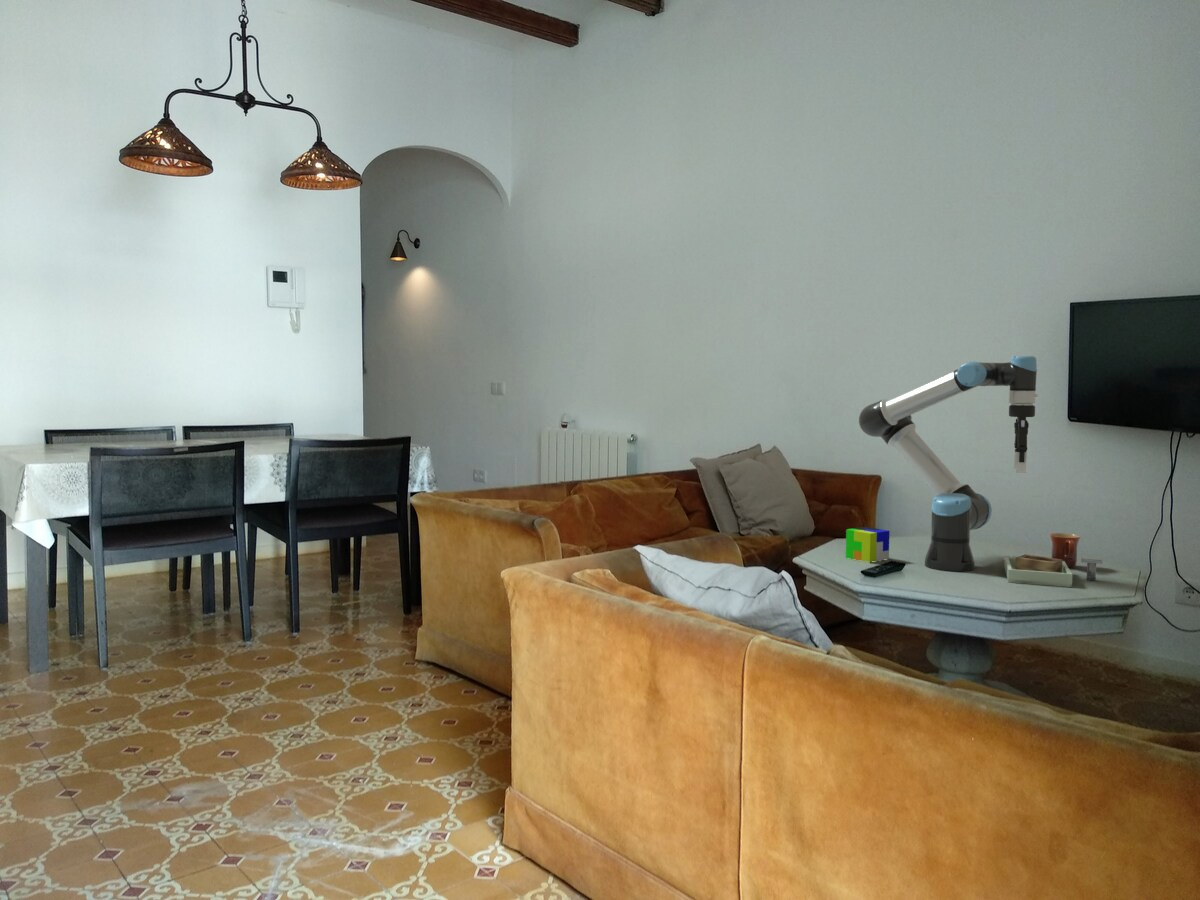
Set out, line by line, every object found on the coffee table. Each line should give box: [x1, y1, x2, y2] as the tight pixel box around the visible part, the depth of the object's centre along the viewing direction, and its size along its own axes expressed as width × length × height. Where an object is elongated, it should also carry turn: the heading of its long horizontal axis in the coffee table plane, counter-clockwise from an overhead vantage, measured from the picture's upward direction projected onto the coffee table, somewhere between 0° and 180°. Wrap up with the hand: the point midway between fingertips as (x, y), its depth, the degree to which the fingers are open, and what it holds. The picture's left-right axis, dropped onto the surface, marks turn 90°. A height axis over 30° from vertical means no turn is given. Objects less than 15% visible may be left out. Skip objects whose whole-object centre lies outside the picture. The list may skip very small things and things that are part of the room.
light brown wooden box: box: [1015, 554, 1062, 573], centre depth 267 cm, size 11×8×5 cm
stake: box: [1080, 557, 1103, 582], centre depth 263 cm, size 5×2×7 cm, turn 68°
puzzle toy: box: [845, 526, 890, 562], centre depth 295 cm, size 10×10×10 cm
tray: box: [1004, 556, 1073, 588], centre depth 267 cm, size 17×20×4 cm
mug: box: [1049, 532, 1081, 569], centre depth 281 cm, size 12×9×10 cm
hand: (1019, 470), depth 278 cm, fingers open, 13 cm apart
